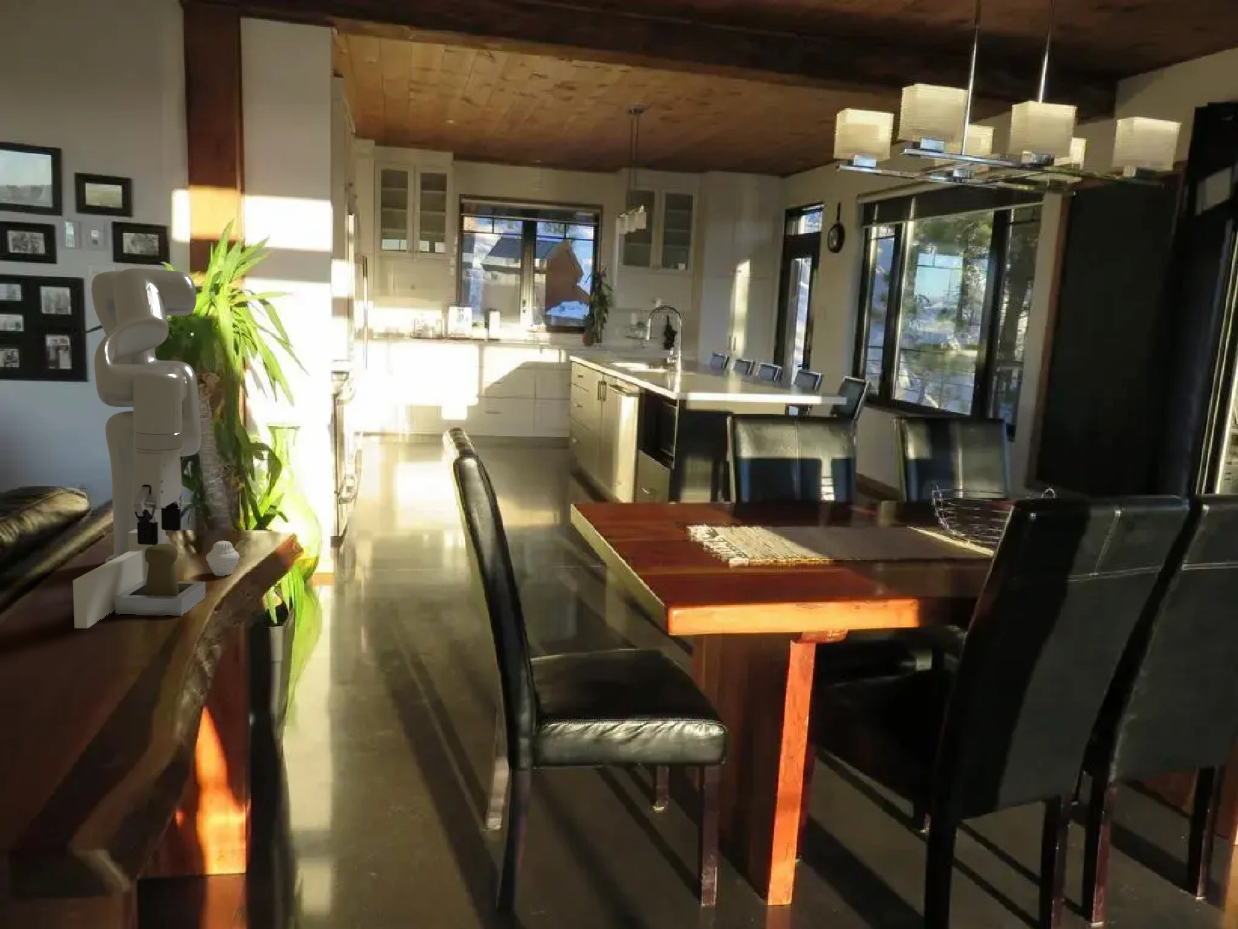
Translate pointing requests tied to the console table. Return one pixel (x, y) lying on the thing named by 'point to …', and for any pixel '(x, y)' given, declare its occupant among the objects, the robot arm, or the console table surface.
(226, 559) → the muffin
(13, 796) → the console table surface
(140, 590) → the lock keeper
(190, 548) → the console table surface
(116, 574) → the door panel
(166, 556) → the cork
